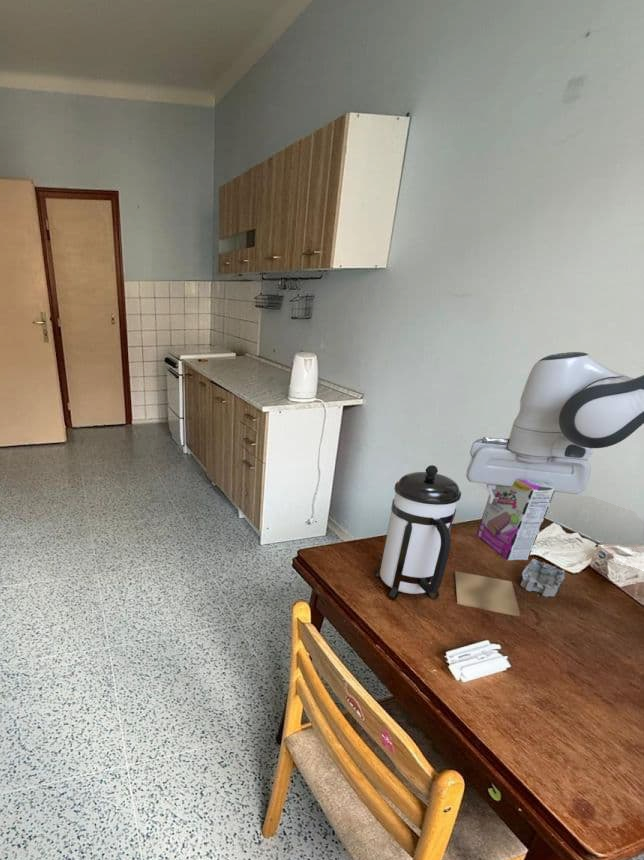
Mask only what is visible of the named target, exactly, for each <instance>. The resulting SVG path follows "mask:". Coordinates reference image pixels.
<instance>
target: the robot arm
mask: <svg viewBox="0 0 644 860" xmlns="http://www.w3.org/2000/svg"><path fill="white" fill-rule="evenodd" d="M643 425H644V374H642V375H640V376H638V377H635V378H634V377H631V376H628V375H625V374H622V373H620V372H617V371H614V370H612V369H609V368H608V367H606V366H604V365H602V364H601V363H599V362H598V361H596V360H595V359H594V358H593V357H592V356H591V355H590V354H589V353H586V352H584V351H582V352H581V351H571V352H561V353H555V354H549V355H546V356H544V357H542V358H541V359H539V360H538V361H537V362H535V364H534V365H533V366H532V367H531V370H530V372H529V374H528V376H527V379H526V381H525V384H524V387H523V390H522V393H521V396H520V399H519V410H518V413H517V416H516V417H515V419H514V421H513V423H512V426H511V429H510V432H509V436H508V438H503V437H501V438H500V437H497V438H496V437H489V436H483V437H482V438H479V439H476V440H475V441H474V442H473V443H472V444H471V447H470V450H469V451H470V452H469V453H470V457H471V458H470V460H469V462H468V465H467V468H466V471H465V477H466V479H467V480H468V482H470V483H477V484H485V485H486V489H487V491H488V497H489V500H488V499H487V501H488V503H489V504H494V505H497V501H498V499H499V497H498V495H496V494H494V493H493V491H492V489H495V488H496V485H501V486H510V487H512V485H513V484H514V482H515V480H516V479H521V480H530V481H537V482H543V483H546V484H548V485H550V486H552V487H554V488H556V490H555V492H554V494H553V497H554V495H555V493H562V494H570V495H579V494H581V493H583V492H584V491H585V490H586V488H587V487H588V483H589V480H590V476H591V472H592V471H591V469H592V465H591V462H590V461H589V460H588V459H591V457H592V455H593V453H594V450H593V449H603V448H608V447H612V446H614V445H617V444H619V443H621V442H623V441H624V440H626V439H627V438H628V437H630V436H631V435H632V434H634V433H635V431H637V430H638V429H639V428H640V427H642V426H643ZM489 494H490V496H489Z"/></svg>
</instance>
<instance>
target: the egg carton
mask: <svg viewBox="0 0 644 860" xmlns="http://www.w3.org/2000/svg"><path fill="white" fill-rule="evenodd" d="M565 574H566V571H565V569H558V568H557V566H556V565H555V566H553V565H551V564H548V563H546V562H544V561H542V562H541V561H540V560H538V559H536V558H532V559H531V561H529V563H528V564H527V565H526V566H525V568H524V569H523V571H522V573H521V576H522V579H521V582H520V587H522V588H523V589H524V590H525V591H527V592H537V593H539V594H541V596H542V597H545V598H549V597H555V596H556V594H557V593H558V590H559V588H560V586H561V583H563V581H564V580H565V578H566V577H565Z"/></svg>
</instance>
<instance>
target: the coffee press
mask: <svg viewBox="0 0 644 860" xmlns="http://www.w3.org/2000/svg"><path fill="white" fill-rule="evenodd" d="M437 467H438V466H436V465H428V466H427V467H426V468H425V471H415V472H414V471H413V472H410V473H407V474H405V475H403V476H401V478H400V479H398V481H397V482H396V483H395V484H394V492H395V493H394V498H393V499H392V503H391V507H390V508H391V509H390V510H391V513H390V517H389V521H388V526H387V527H388V528H387V532H386V537H385V541H384V542H385V543H384V547H383V553H382V556H381V557H382V558H381V562H380V566H379V568H378V569H377V570H375V571H374V573H373V575H374V576H375V577H376V578H380V579H381V580H382V582H383V583H384V584H385V585H386V586H387V587H389V588H391V590H390V593H389V594H388V599H390V600H394V601H396V600H397V598H398V596H399V594H400V592H401V593H404V594H411V595H419V594H424V593H425V594H427V595H428V596H429V598H430V599H432V600H437V599H438V598H439V596H440V592H439V589H440V587H441V585H442V581H443V578H444V576H445V575H444V574H445V571H446V568H447V567H446V566H447V563H448V560H449V555H450V550H451V542H452V541H451V530H452V526H453V522H454V519H455V517H456V513H457V508H456V507H457V504H458V502H459V501H460V499H461V498H462V492H461V490H460V487H459V485H458V483H457V481H456V480H455V481H454V479H452V478H451V477H449V476H446V475H444V474H440V473H438V472H439V469H438V468H437Z"/></svg>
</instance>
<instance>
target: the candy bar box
mask: <svg viewBox="0 0 644 860" xmlns="http://www.w3.org/2000/svg"><path fill="white" fill-rule="evenodd" d="M555 490H556V488H554V487H552V486H550V485H548V484H546V483H543V482H537V481H530V480H521V479H516V480H515V482H514V484H513V485H512V487H510V486H501V485H496V488H495V489H492V491H493V493H494V494H496V495H498V497H499V499H498V501H497V505H494V504H489V503H488V500H489V496H490V494H489V493H488V497H487V501H486V504H485V507H484V511H483V512H482V517H481V520H480V523H479V527H478V528H477V532H476V534H475V535H476V537H477V538H478V539H479V540H480V541H482V542H483V543H484V544H486V545H487V546H488V547H489V548H490V549H492V550H493V551H494V552H496V553H497V554H498V555H499V556H500V557H502V559H504V560H505V561H507V562H516V561H517V562H518V561H528V560H529V559H530V555H531V553H532V550H533V549H534V545H535V543H536V540H537V539H538V538H537V537H538V535H539V533H540V531H541V528H542V525H543V522H544V520H545V517H546V515H547V512H548V510H549V507H550V505H551V503H552V500H553V498H554V496H553V494H554V495H555V493H556V492H555ZM554 492H555V493H554Z"/></svg>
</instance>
